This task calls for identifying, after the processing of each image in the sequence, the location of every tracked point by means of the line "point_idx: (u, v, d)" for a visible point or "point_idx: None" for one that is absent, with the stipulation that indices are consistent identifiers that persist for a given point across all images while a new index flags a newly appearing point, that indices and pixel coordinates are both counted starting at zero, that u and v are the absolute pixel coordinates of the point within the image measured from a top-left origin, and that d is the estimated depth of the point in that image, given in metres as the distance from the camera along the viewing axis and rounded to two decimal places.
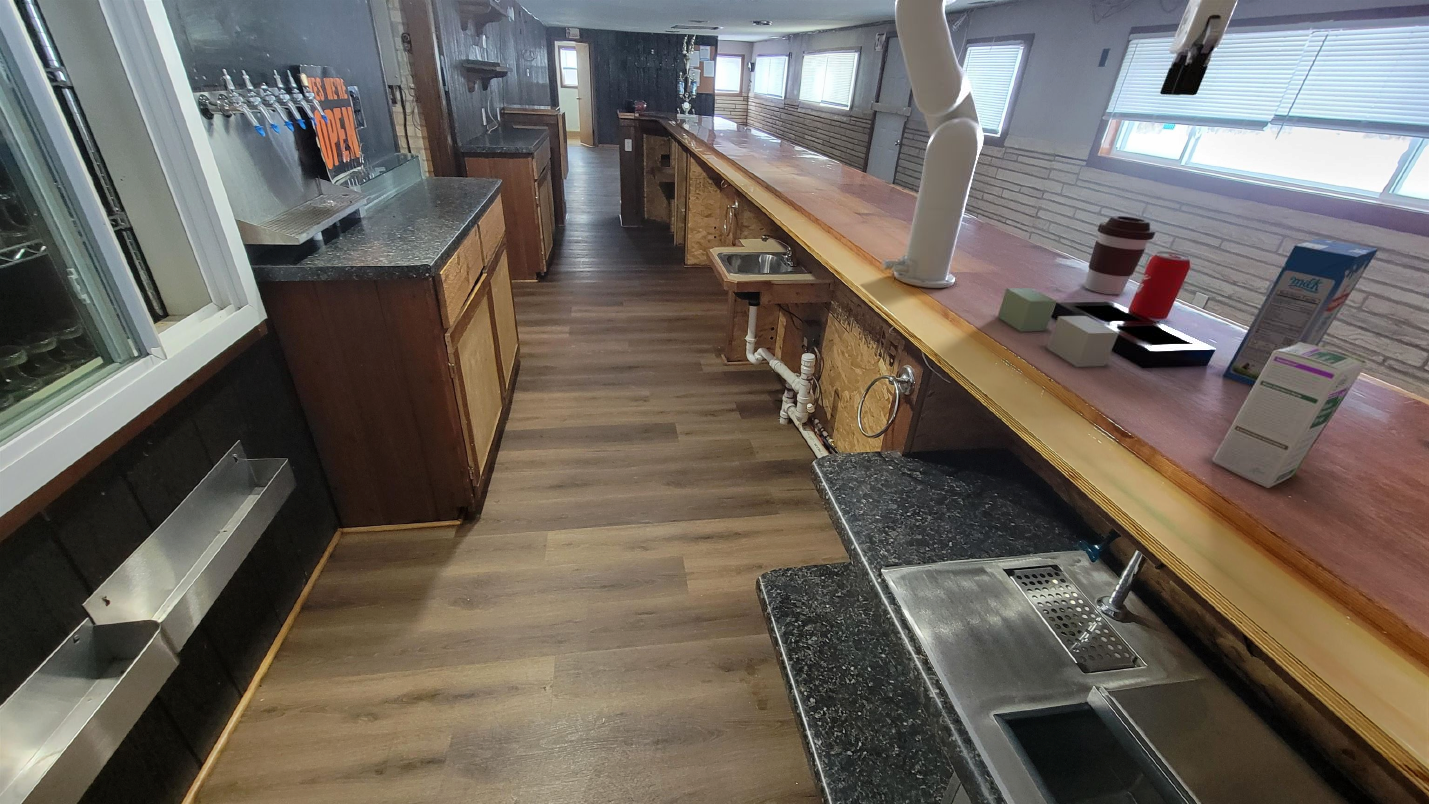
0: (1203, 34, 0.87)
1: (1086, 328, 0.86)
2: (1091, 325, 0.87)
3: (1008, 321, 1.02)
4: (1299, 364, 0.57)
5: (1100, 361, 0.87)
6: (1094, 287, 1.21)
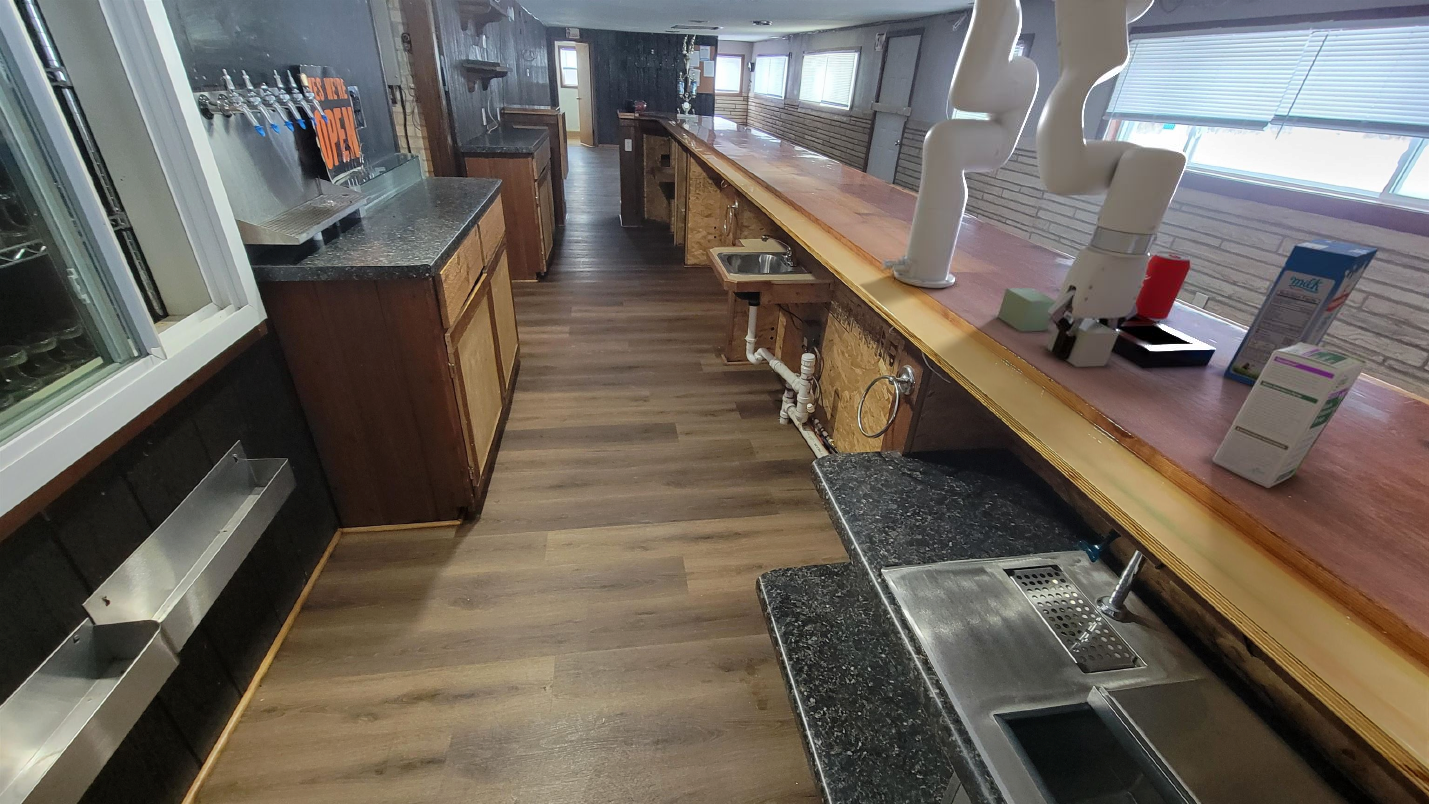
0: None
1: (1086, 329, 0.86)
2: (1091, 325, 0.87)
3: (1008, 321, 1.02)
4: (1299, 364, 0.57)
5: (1100, 361, 0.87)
6: None
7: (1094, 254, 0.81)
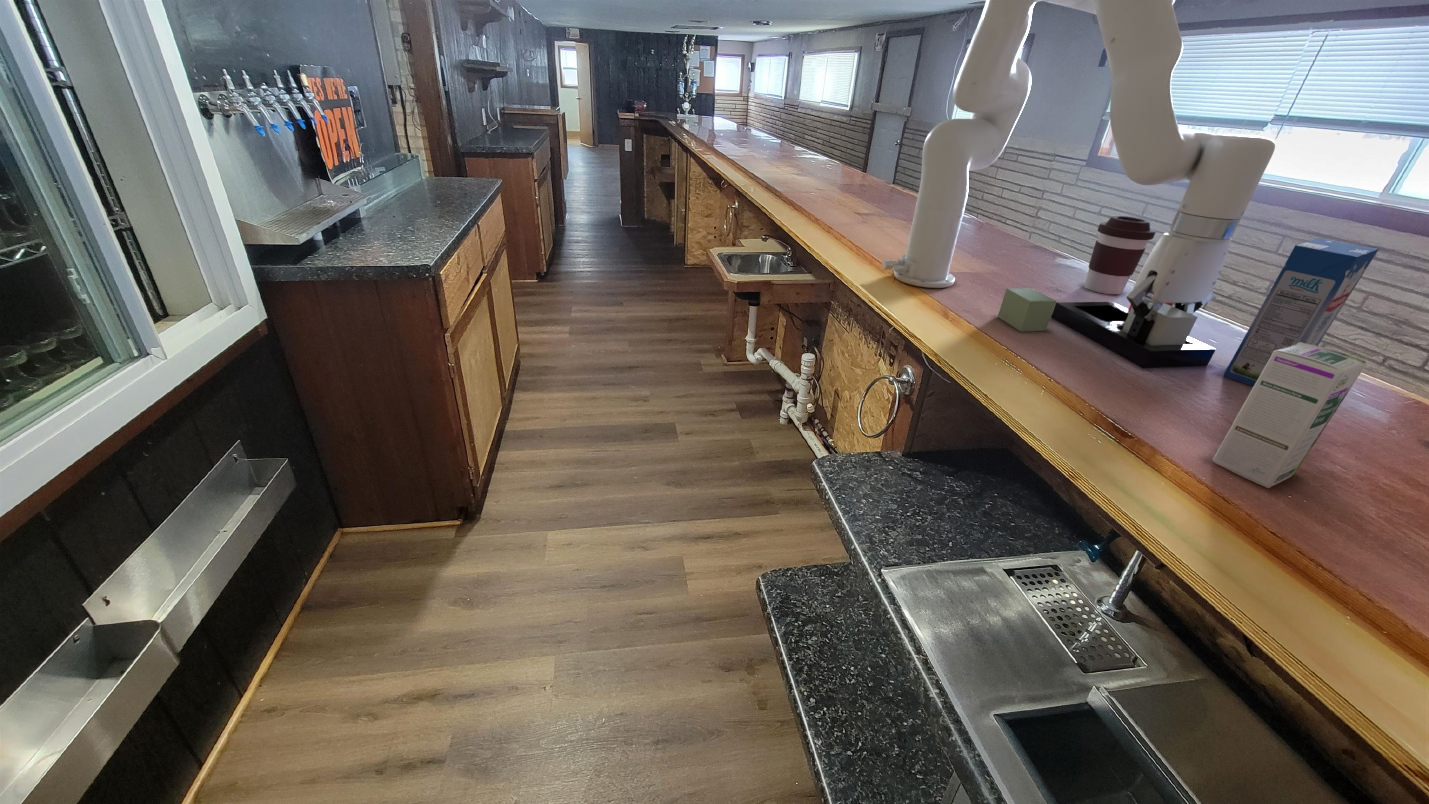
0: None
1: (1165, 313, 0.88)
2: (1168, 310, 0.89)
3: (1008, 321, 1.02)
4: (1299, 364, 0.57)
5: None
6: (1094, 287, 1.21)
7: (1177, 239, 0.83)
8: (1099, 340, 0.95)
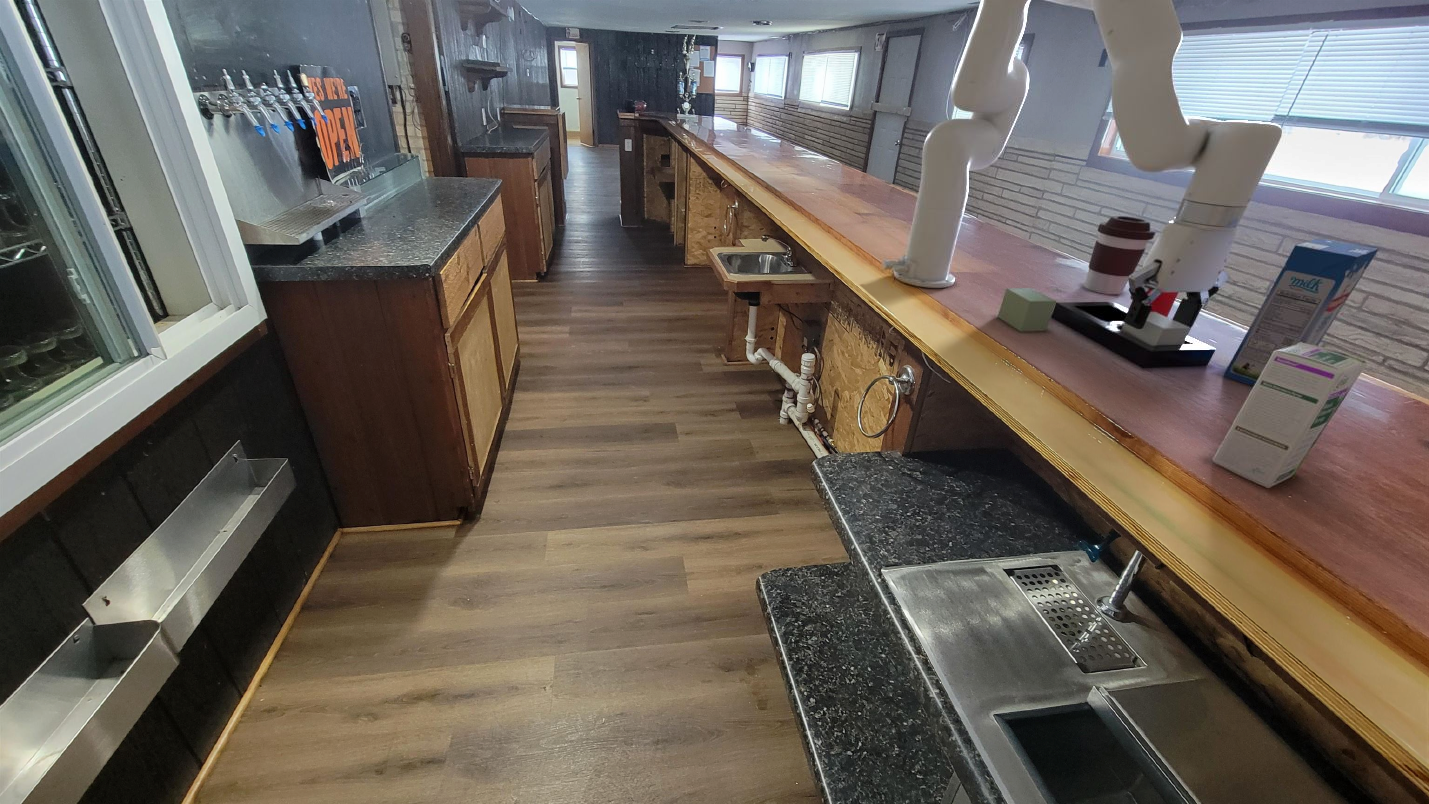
0: None
1: (1159, 324, 0.89)
2: (1162, 321, 0.90)
3: (1008, 321, 1.02)
4: (1299, 364, 0.57)
5: None
6: (1094, 287, 1.21)
7: (1182, 227, 0.82)
8: (1099, 340, 0.95)
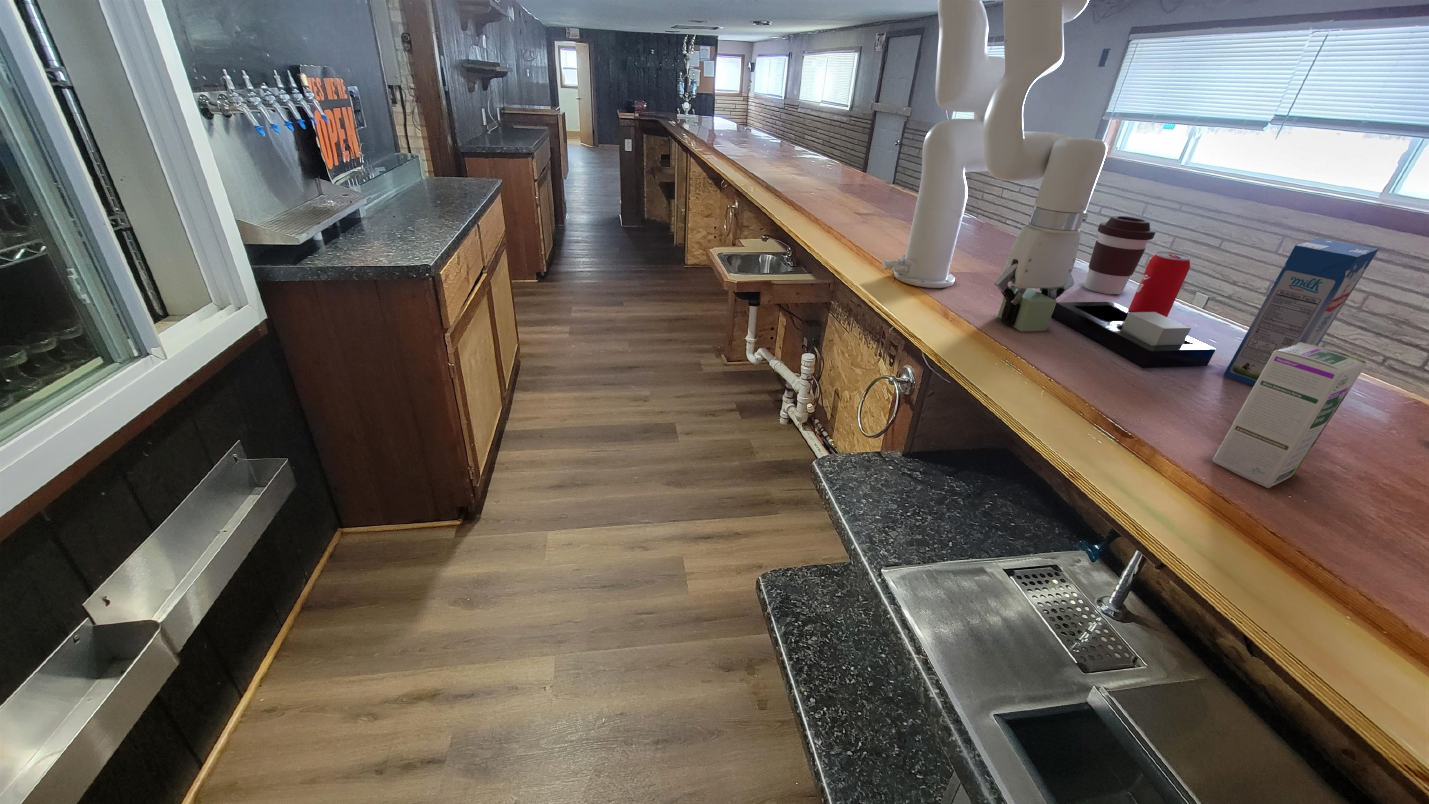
0: None
1: (1159, 324, 0.89)
2: (1162, 321, 0.90)
3: None
4: (1299, 364, 0.57)
5: None
6: (1094, 287, 1.21)
7: (1032, 230, 0.93)
8: (1099, 340, 0.95)
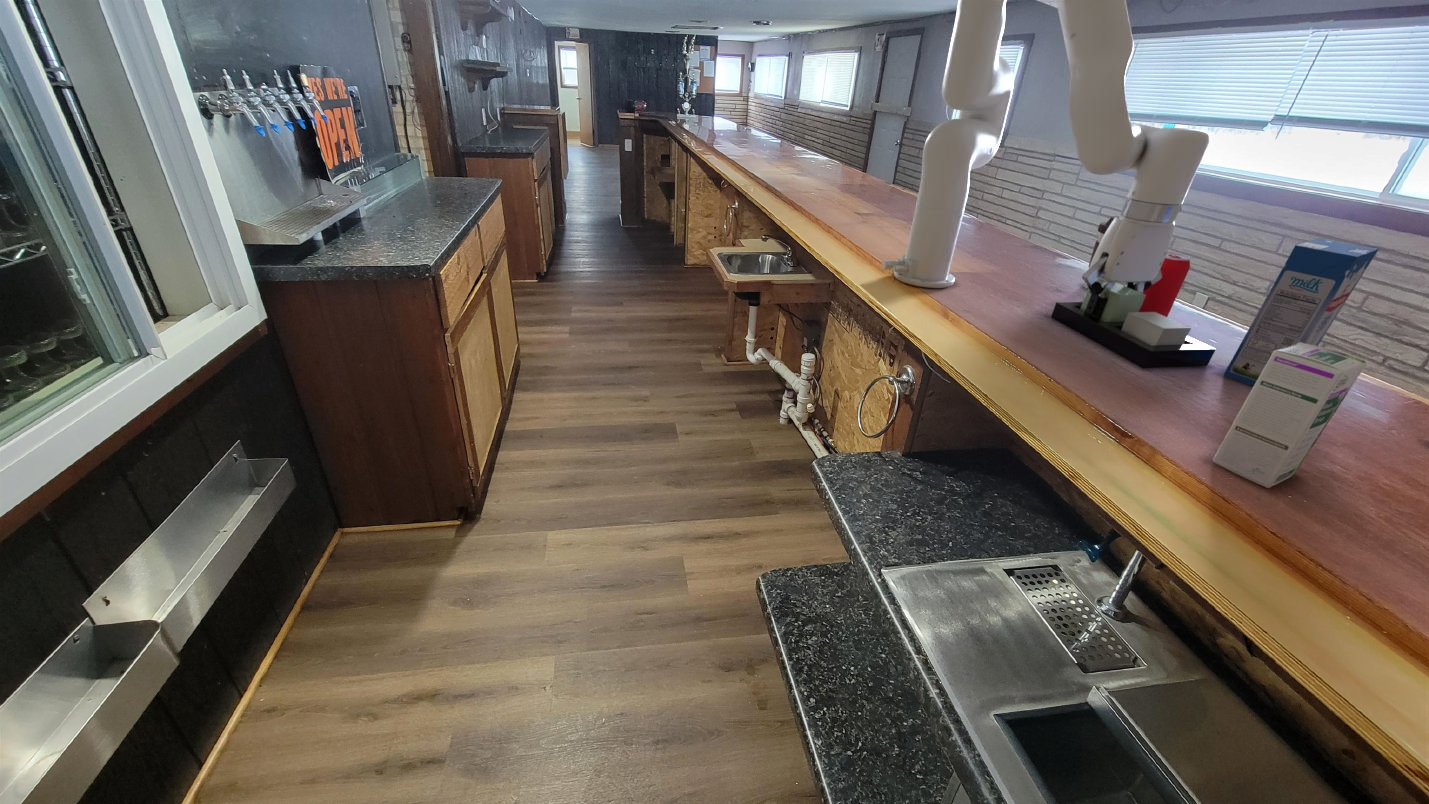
0: None
1: (1159, 324, 0.89)
2: (1162, 321, 0.90)
3: None
4: (1299, 364, 0.57)
5: None
6: None
7: (1125, 223, 0.91)
8: (1099, 340, 0.95)
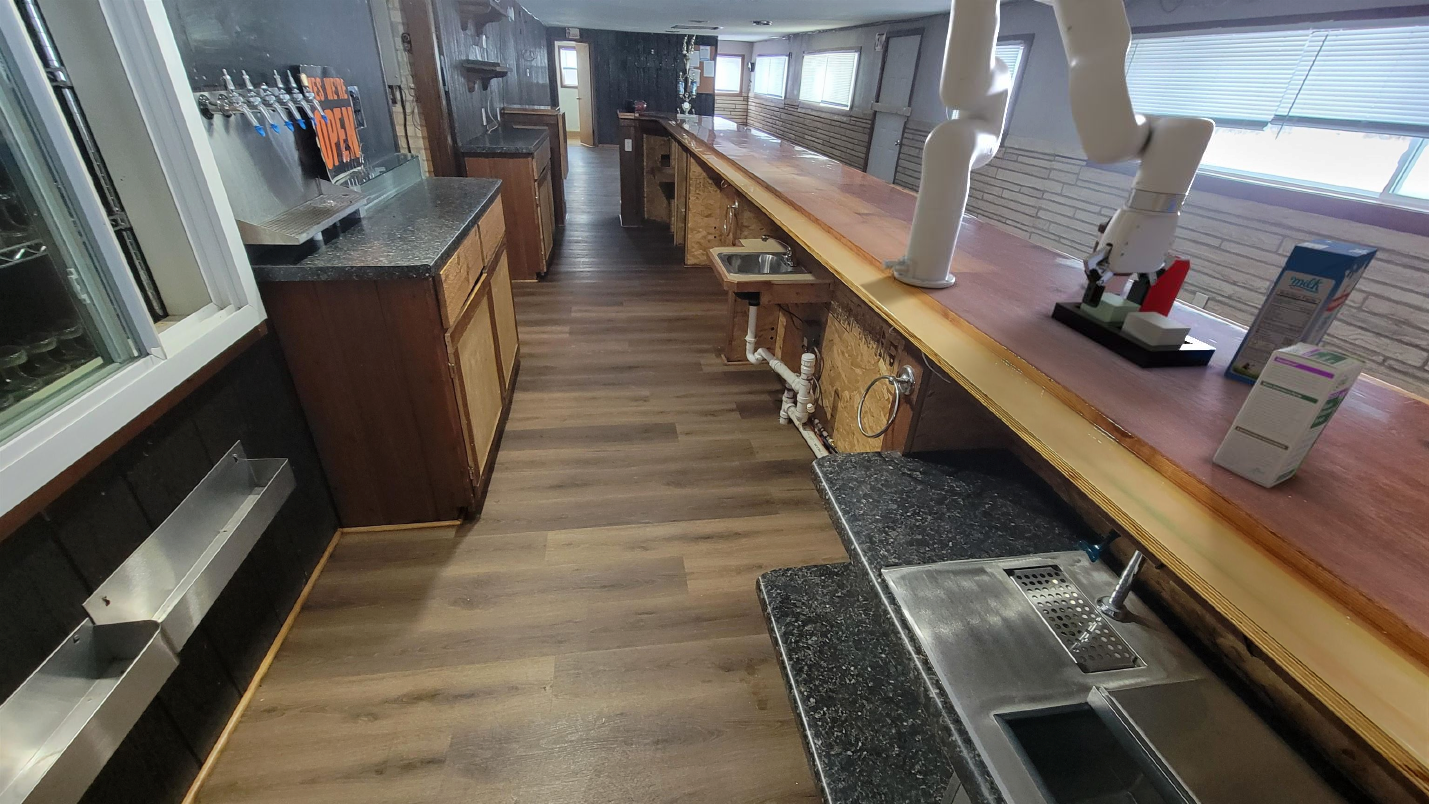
0: None
1: (1159, 324, 0.89)
2: (1162, 321, 0.90)
3: None
4: (1299, 364, 0.57)
5: None
6: None
7: (1130, 213, 0.91)
8: (1099, 340, 0.95)
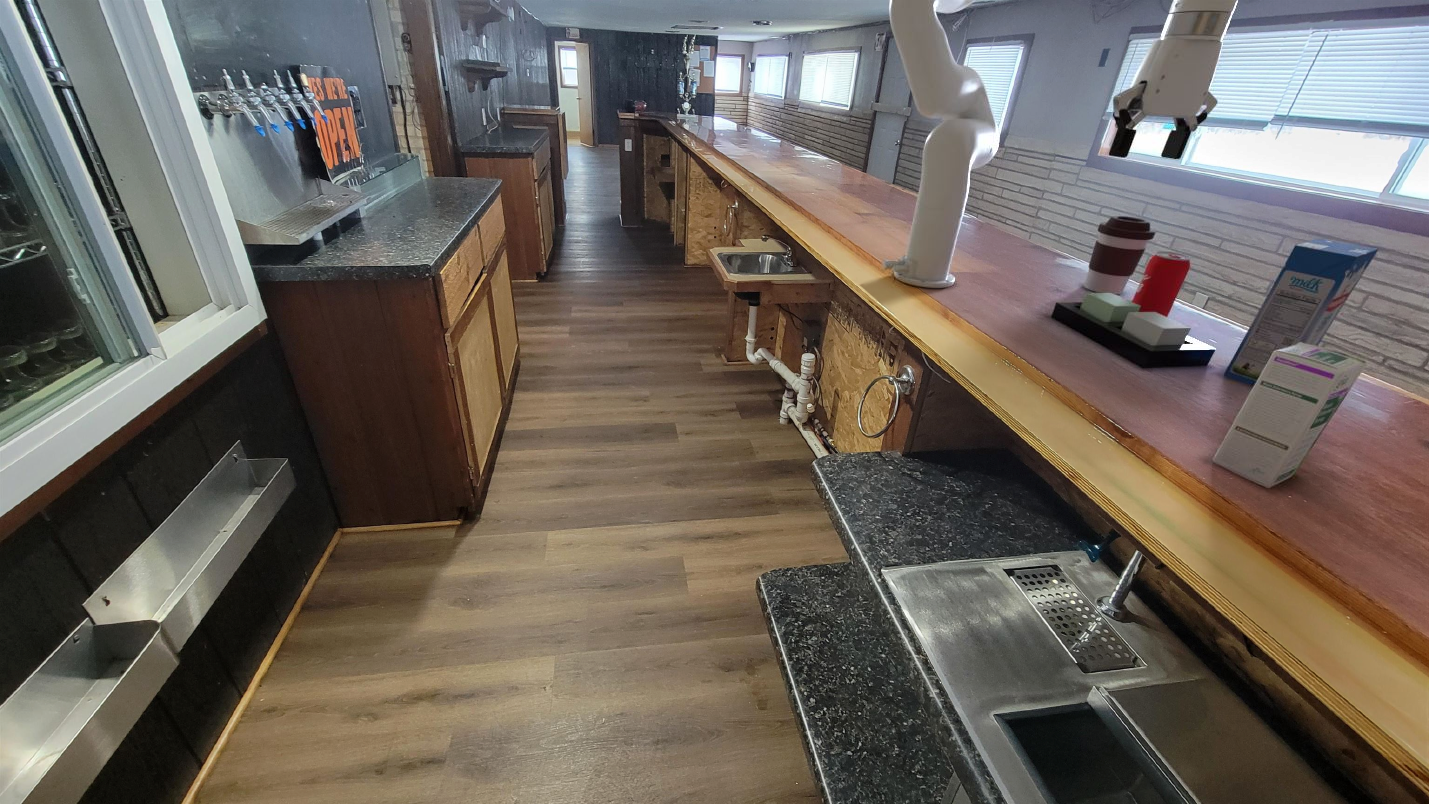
0: None
1: (1159, 324, 0.89)
2: (1162, 321, 0.90)
3: None
4: (1299, 364, 0.57)
5: None
6: (1094, 287, 1.21)
7: (1167, 41, 0.81)
8: (1099, 340, 0.95)
